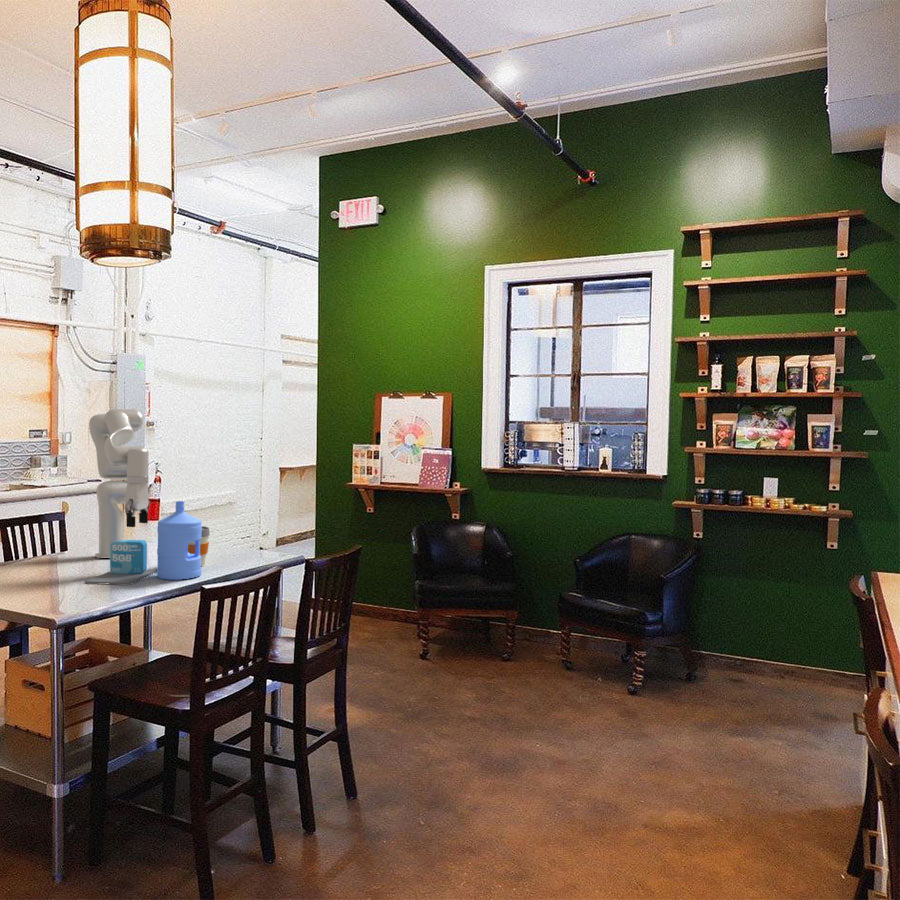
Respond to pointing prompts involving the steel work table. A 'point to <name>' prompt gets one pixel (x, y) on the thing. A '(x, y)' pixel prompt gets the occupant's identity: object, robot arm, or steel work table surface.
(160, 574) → the water jug
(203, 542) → the reusable coffee cup
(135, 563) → the data package
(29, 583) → the steel work table surface
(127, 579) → the mat
